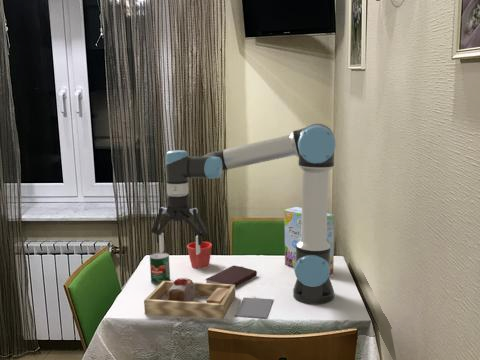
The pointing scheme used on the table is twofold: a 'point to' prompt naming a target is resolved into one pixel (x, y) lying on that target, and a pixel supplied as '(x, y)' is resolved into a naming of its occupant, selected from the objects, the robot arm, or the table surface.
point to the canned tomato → (159, 267)
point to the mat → (254, 308)
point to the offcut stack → (217, 295)
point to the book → (233, 276)
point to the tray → (189, 309)
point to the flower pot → (200, 255)
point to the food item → (182, 290)
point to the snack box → (294, 232)
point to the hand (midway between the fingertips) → (179, 252)
